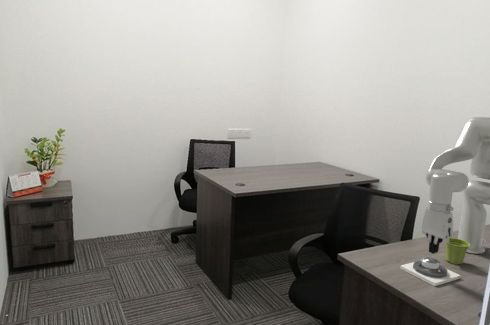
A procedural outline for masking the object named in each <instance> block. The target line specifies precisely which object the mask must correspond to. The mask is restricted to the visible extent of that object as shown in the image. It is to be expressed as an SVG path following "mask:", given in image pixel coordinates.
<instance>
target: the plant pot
mask: <svg viewBox="0 0 490 325" xmlns="http://www.w3.org/2000/svg"><path fill="white" fill-rule="evenodd" d="M449 240H450V241H449V242H447V243H446V242H444V244H445V260H446V261H447V262H449V263H451V264H454V265H459V264H460V265H462V264H463V262H464V259H465V258H466V253H467V252H466V251H467V249H468V247H469V246H470V243H468V242H466V241H464V240H461V239H458V238H454V237H449Z"/></svg>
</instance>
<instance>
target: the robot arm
mask: <svg viewBox="0 0 490 325" xmlns="http://www.w3.org/2000/svg"><path fill="white" fill-rule="evenodd" d="M469 160H471V163H470V174H471V176H473V177H474V178H477V179H483V180H487V181H488V180H489V181H490V117H485V116H482V117H481V116H477V117H476V116H475V117H470V118H469V119H468V120H467V121H466V122H465V123H464V125H463V127H462V128H461V131H460V132H459V134H458V137H457V139H456V141H455V143H454V145H453V146H452V147H451V148H449V149H447V150H445V151H443V152H442V153H440V154H439V155H438V156H436V157H435V158H434V159H433V160H432V163H431V164H430V166H429V168H428V171H427V173H426V176H425V182H426V184H427V185H428V186H429V193H428V194H429V195H428V201H427V206H426V207H425V210H424V212H423V213H424V214H423V216H422V220H421V221H422V222H421V233H422V234H423V235H424V236H426V238H427V241H428V242H429V243H428V253H430V254H436V253H438V252H439V248H440V244H441V243H445V242H446V243H447V242H449V241H450V240H449V238H453V232H454V215H453V211H454V207H452V198H453V193H460V192H462V209H461V216H460V221H459V222H460V223H459V228H458V234H457V239H461V240H464V241H466V242H468V243H470V246H469V247H468V249H467V251H466V253H467V254H468V253H469V254H475V255H479V254H480V255H481V254H482V255H483V254H484V253H486V248H484V246H483V244H485V243H487V240H486V239H485V238H484V235H485V227H486V222H487V216H488V214H487V210H486V207H485V206H484V205H486V206H487V205H488V206H490V182H487V181H481V180H474V179H473V180H469V177H468V176H467V174H465V173H463V172H460V171H456V170H455V171H454V170H450V169H449V170H448V169H443V168H446V166H448V165H451V164H455V163H459V162H460V163H461V162H465V161H469Z"/></svg>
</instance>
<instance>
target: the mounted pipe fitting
mask: <svg viewBox="0 0 490 325" xmlns="http://www.w3.org/2000/svg"><path fill="white" fill-rule="evenodd" d="M421 265H422V259H421V260H417V261H414V262H412V261H411V262H409V263H405V264H401V265H399V269H400V270H402V271H404V272H406V273H408V274H410V275H412V276H414V277H416V278H418V279H419V280H422V281H424V282H425V283H427V284H429V285H431V286H433V287H437V286H440V285H443V284H447V283H449V282H450V283H451V282H453V281H456V280H459V279H461V276H462V275H461V274H458V273H456V272H454V271H452V270H450V269H448V268H446V267H445V266H443V265H441V264H439V271H438V272H430V271H426V270H424V269H422V268H421Z"/></svg>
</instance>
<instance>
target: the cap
mask: <svg viewBox="0 0 490 325" xmlns="http://www.w3.org/2000/svg"><path fill="white" fill-rule="evenodd" d="M421 260H422V265H421V268H422V269H424V270H426V271H430V272H438V271H439V265H441V262H440V261H439V260H438V259H436V258H434V257H429V256H424V257H422V258H421Z"/></svg>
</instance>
